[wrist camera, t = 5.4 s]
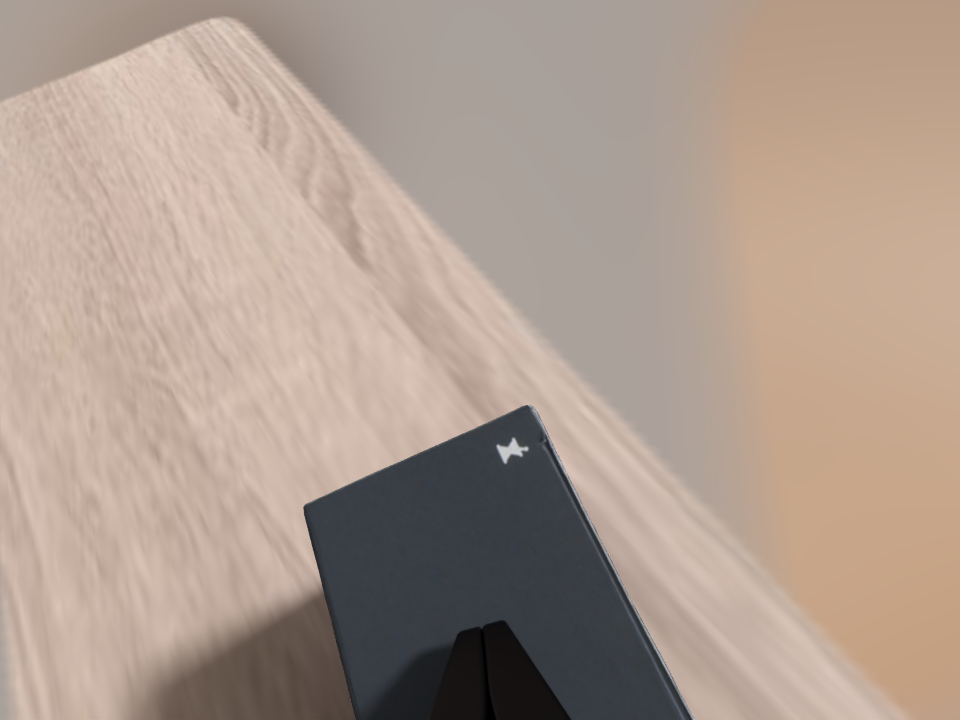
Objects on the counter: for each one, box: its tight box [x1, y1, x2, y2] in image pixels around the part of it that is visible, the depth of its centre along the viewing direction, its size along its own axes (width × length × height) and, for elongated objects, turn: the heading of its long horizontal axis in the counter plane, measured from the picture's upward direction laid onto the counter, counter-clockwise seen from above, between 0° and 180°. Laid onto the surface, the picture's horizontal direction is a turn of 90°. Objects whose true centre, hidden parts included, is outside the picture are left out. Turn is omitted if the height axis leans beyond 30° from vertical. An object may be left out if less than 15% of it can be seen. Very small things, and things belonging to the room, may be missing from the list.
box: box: [303, 405, 695, 720], centre depth 13 cm, size 8×6×11 cm
